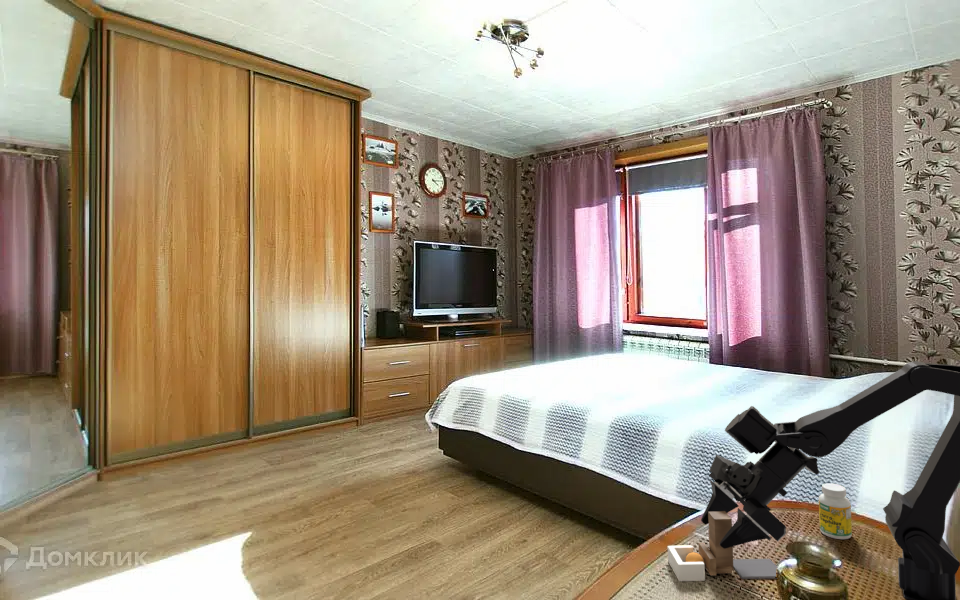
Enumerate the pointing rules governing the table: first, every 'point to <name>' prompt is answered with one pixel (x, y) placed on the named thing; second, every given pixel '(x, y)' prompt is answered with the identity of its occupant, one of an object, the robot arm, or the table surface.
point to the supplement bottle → (835, 512)
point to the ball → (694, 557)
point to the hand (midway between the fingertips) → (711, 534)
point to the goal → (685, 564)
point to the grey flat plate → (755, 568)
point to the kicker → (717, 544)
